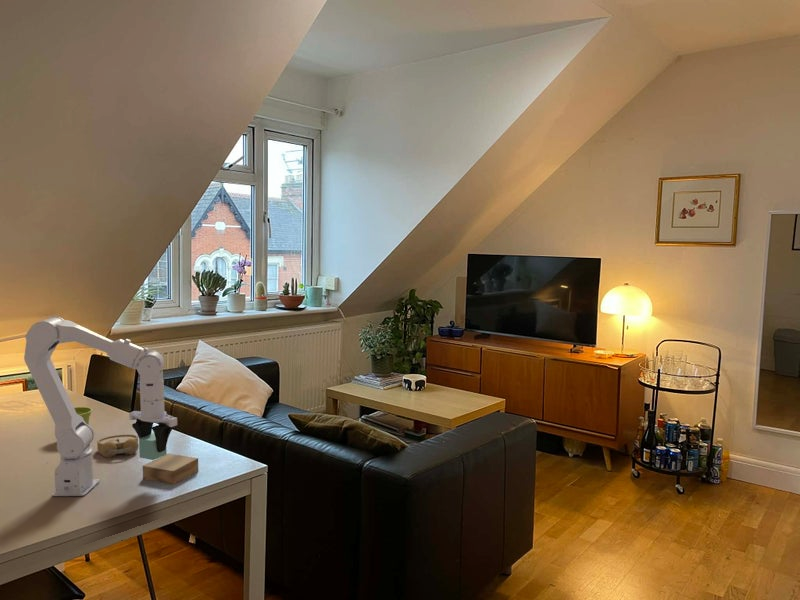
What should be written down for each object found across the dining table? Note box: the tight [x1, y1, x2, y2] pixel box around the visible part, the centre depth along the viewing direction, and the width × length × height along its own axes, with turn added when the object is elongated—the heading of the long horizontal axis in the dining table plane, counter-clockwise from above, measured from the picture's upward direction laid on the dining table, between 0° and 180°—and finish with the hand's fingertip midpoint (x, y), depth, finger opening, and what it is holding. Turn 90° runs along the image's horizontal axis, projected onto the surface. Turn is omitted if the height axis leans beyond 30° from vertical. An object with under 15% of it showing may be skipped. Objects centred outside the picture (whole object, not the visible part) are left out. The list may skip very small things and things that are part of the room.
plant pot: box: [73, 406, 93, 426], centre depth 196 cm, size 9×9×9 cm
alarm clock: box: [96, 434, 139, 459], centre depth 184 cm, size 11×5×15 cm
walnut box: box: [142, 453, 199, 486], centre depth 167 cm, size 10×10×4 cm
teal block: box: [138, 433, 168, 461], centre depth 160 cm, size 5×5×5 cm
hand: (154, 449), depth 161 cm, fingers closed on teal block, 5 cm apart
